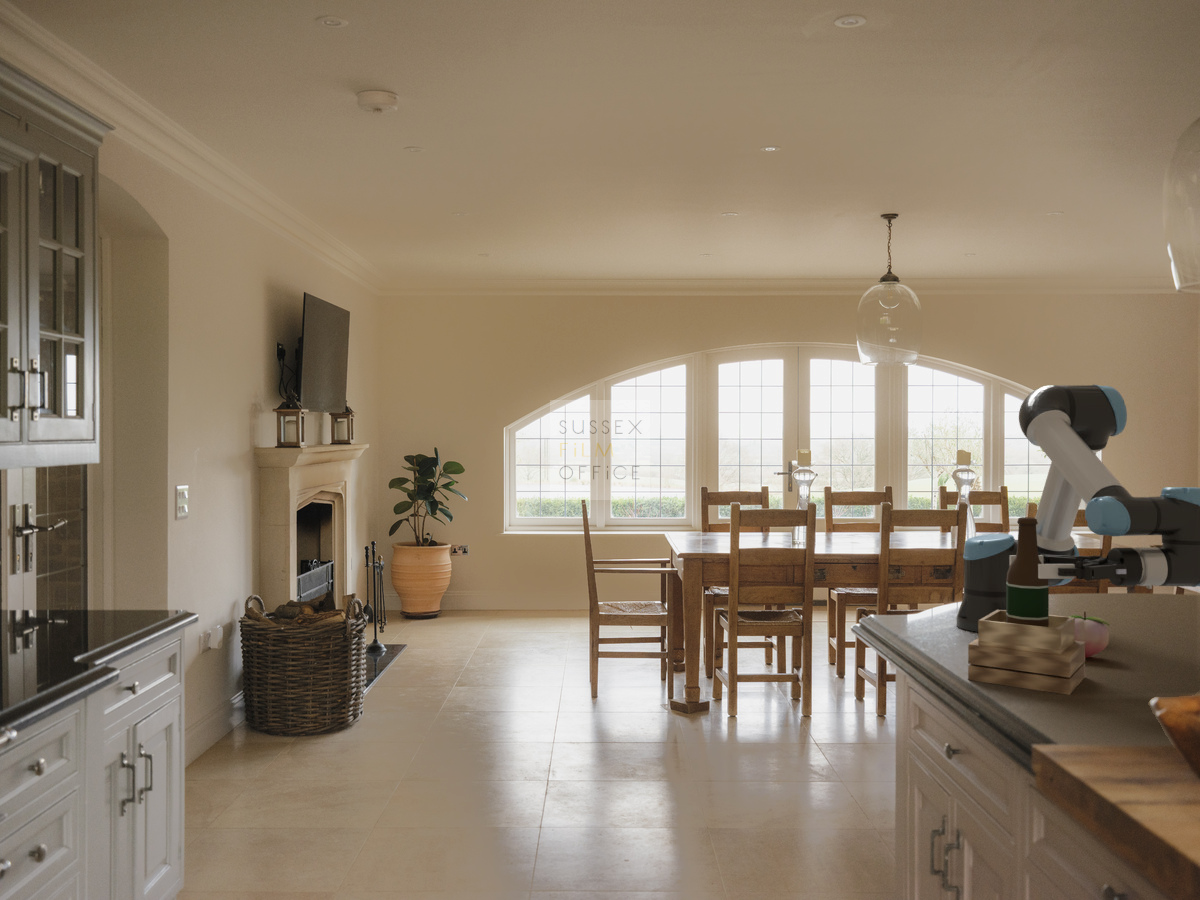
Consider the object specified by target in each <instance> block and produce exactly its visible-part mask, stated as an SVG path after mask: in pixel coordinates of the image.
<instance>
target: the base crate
mask: <svg viewBox="0 0 1200 900" xmlns="http://www.w3.org/2000/svg"><path fill="white" fill-rule="evenodd" d="M967 646H968V647H967V648H968V649H967V652H968V653H967V656H968V657H967V661H968V662H967V663H968V664H969V665H967V672H968V673H967V676H968V677H967V678H968V679H967V680H968V681H973V682H980V683H981V682H982V683H988V684H994V685H1001V686H1007V687H1009V686H1010V687H1015V688H1022V689H1028V690H1035V691H1041V692H1042V691H1043V692H1050V693H1055V694H1062V695H1068V696H1070V695H1072V693H1073V691H1075V689H1076V688H1077V687H1078V686H1079V685H1080V684H1081V682H1082V681H1083V680H1084V679H1085V678H1086V663H1085V662H1086V658H1085V642H1080V641H1075V642H1074V643H1073V644H1072V645H1071V646H1070V647H1068V648H1067V649H1066V650H1065V651H1064V652H1063V653H1062V654H1061V655H1056V654H1048V653H1040V652H1032V651H1024V650H1016V649H1008V648H1000V647H992V646H984V645H978V637H977V638H976V639H974V640H972V641H971V642H970V643H968V645H967Z"/></svg>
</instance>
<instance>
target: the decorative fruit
mask: <svg viewBox="0 0 1200 900" xmlns="http://www.w3.org/2000/svg"><path fill="white" fill-rule="evenodd" d="M1067 617H1075V641H1080V642H1085V659H1086V658H1089V657H1092V656H1094V655H1097V654H1099V653H1101V652H1102V651H1104V650H1105V649H1106V647H1107V646H1108V645H1109V642H1110V634H1109V630H1108V628H1107V626H1110V624H1109V623H1108V622H1107V620H1105V619H1103V618H1102V617H1098V616H1087V613H1086V611H1084V612H1083V616H1082V615H1078V614H1077V615H1068V616H1067Z"/></svg>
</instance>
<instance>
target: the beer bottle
mask: <svg viewBox="0 0 1200 900" xmlns="http://www.w3.org/2000/svg"><path fill="white" fill-rule="evenodd" d="M1017 524H1018V530H1017V531H1018V532H1017V533H1018V534H1017V540H1018V545H1017V553H1016V558H1015V559H1014V561H1013V562H1012V563H1011V565H1010V567H1009V569H1008V572H1007V581H1006V623H1014V624H1023V625H1033V626H1042V627H1049V615H1050V614H1049V609H1050V608H1049V606H1050V605H1049V599H1050V598H1049V594H1050V593H1049V592H1050V589H1049V588H1050V586H1049V584H1048V579H1040V578H1038V564H1042V563H1041V561H1040V560H1039V556H1038V548H1037V533H1036V525H1037V524H1038V522H1037V519H1035V517H1029V516H1028V517H1025V516H1022V517H1019V518H1018V519H1017Z"/></svg>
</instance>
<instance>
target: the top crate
mask: <svg viewBox="0 0 1200 900" xmlns="http://www.w3.org/2000/svg"><path fill="white" fill-rule="evenodd" d="M977 634H978V637H977V638H978V645H984V646H992V647H1000V648H1008V649H1016V650H1024V651H1032V652H1040V653H1048V654H1056V655H1061V654H1062V653H1063V652H1064V651H1065V650H1066V649H1067V648H1068V647H1070V646H1071V645H1072V644H1073V643H1074V642H1075V617H1068V616H1064V615H1054V614H1049V627H1042V626H1033V625H1023V624H1014V623H1006V610H996V611H994V612H992V613H990V614H989V615H987V616H985V617H983V618H982V619H980V620H978V632H977Z"/></svg>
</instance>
